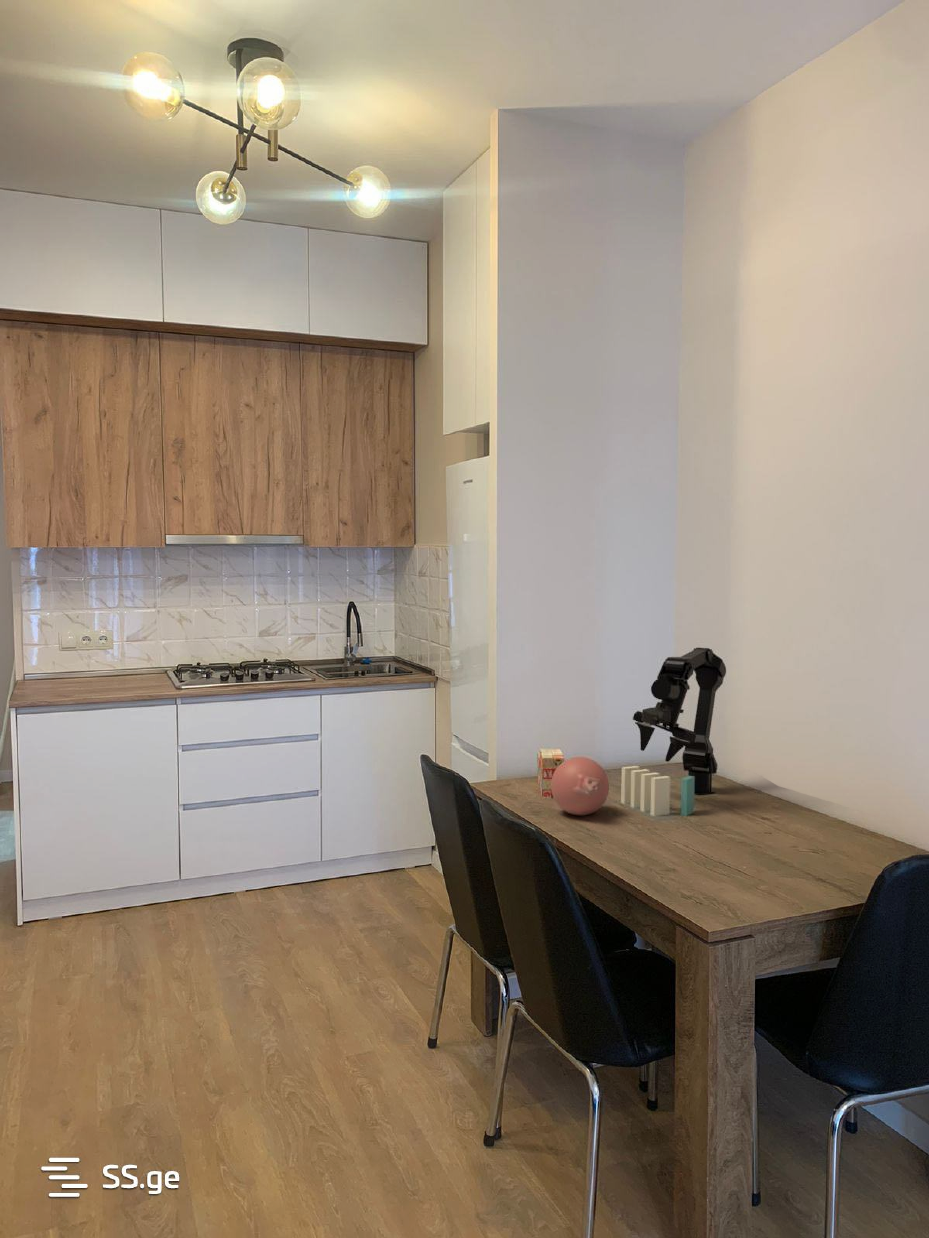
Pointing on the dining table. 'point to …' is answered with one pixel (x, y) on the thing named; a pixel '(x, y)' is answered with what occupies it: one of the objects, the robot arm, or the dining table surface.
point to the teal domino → (687, 795)
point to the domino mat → (660, 817)
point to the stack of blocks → (547, 769)
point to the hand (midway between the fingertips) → (654, 755)
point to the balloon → (580, 786)
